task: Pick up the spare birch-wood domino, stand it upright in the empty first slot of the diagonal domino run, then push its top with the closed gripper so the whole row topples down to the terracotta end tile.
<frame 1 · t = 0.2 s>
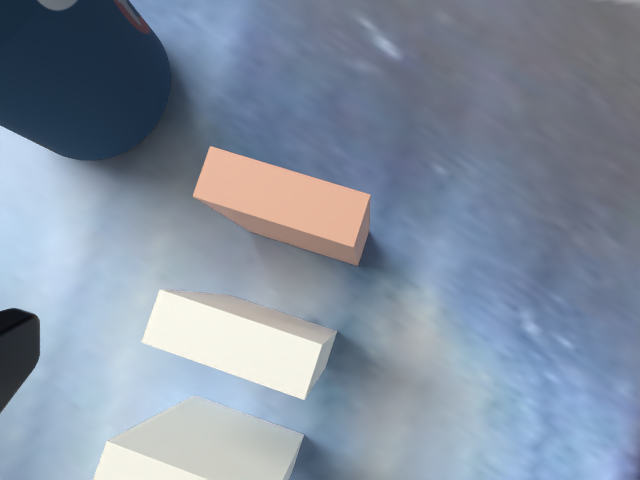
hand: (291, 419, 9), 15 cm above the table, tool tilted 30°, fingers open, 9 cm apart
domino 3: (242, 432, 23), on the table
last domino: (308, 231, 24), on the table
domino 4: (276, 330, 24), on the table
soda can: (110, 96, 26), on the table
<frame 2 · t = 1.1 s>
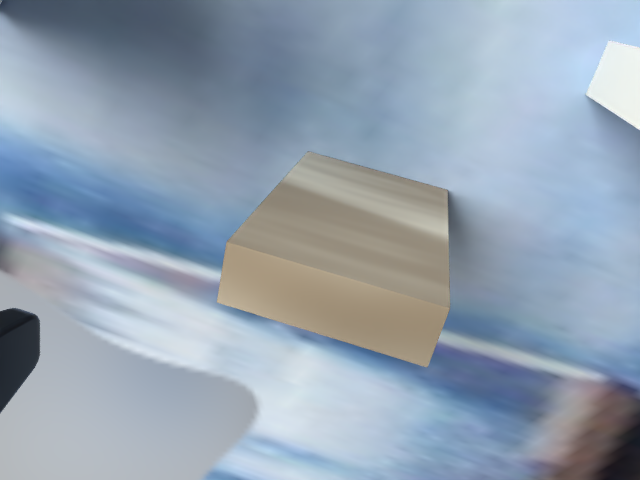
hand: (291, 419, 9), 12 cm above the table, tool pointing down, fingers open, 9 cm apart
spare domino: (370, 191, 19), on the table
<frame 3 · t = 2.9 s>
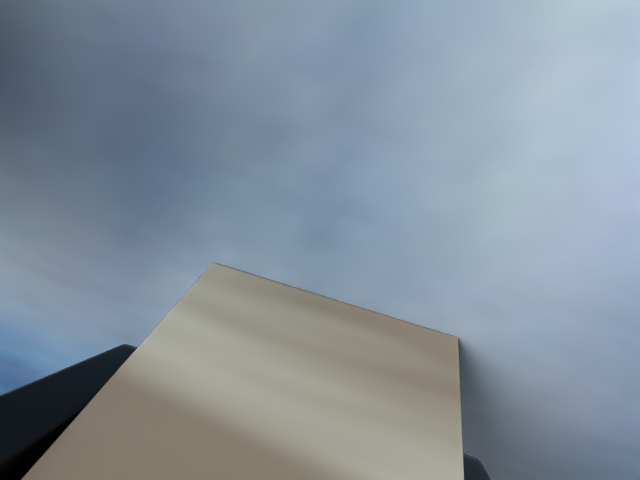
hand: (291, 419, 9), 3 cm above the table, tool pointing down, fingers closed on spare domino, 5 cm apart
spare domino: (323, 332, 11), on the table, touching gripper
when the fingers open (4 cm above the table, at t = 7.4 s): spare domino stays where it is, on the table.
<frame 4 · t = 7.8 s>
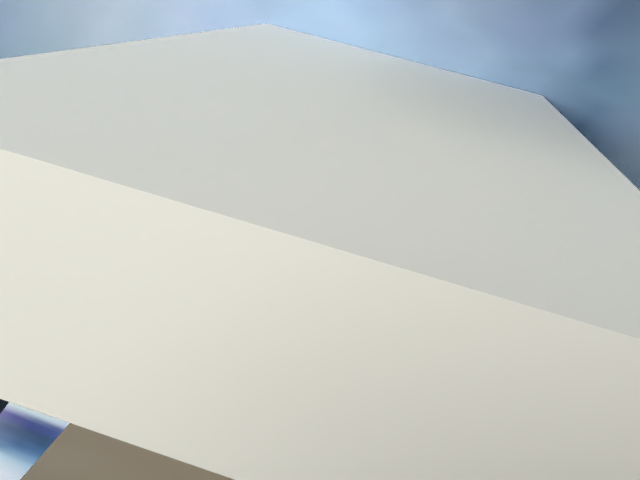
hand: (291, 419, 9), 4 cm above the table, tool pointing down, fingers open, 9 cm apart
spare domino: (332, 305, 12), on the table
domino 2: (388, 103, 10), on the table
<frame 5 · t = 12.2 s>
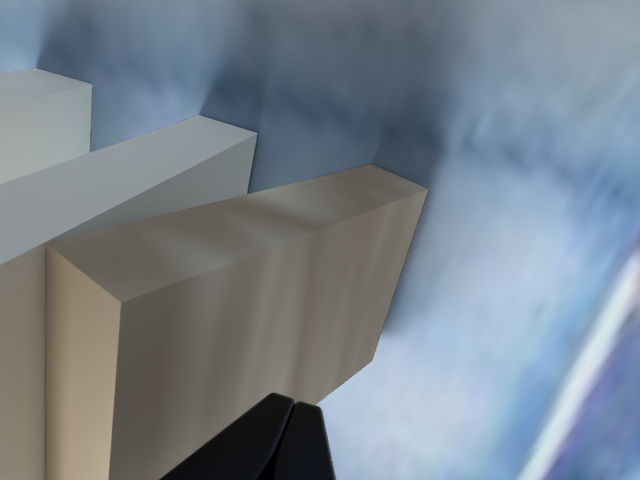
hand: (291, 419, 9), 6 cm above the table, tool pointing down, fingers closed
domino 3: (62, 167, 15), on the table
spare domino: (371, 267, 14), on the table, tilted 25°
domino 2: (214, 214, 15), on the table
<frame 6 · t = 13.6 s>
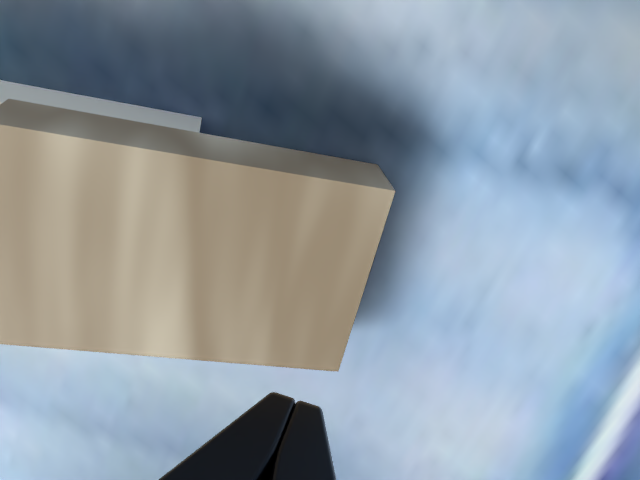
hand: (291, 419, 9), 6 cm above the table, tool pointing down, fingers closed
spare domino: (357, 270, 13), point 1 cm above the table, tilted 69°, touching domino 2
domino 2: (187, 221, 14), point 1 cm above the table, tilted 69°, touching domino 3, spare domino
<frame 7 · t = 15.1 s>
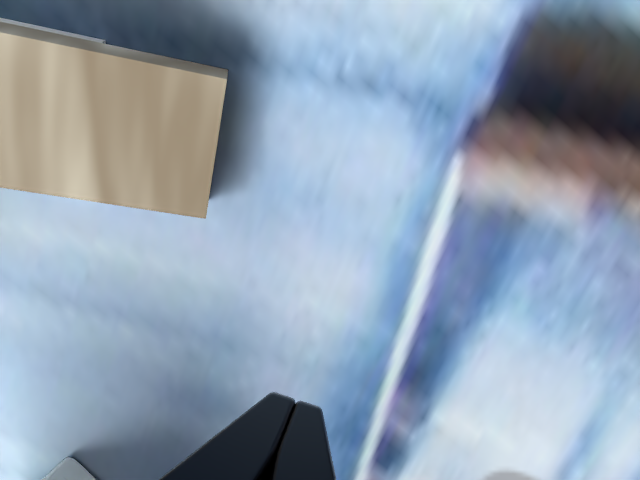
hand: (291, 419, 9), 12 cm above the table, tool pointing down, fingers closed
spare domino: (216, 145, 19), point 1 cm above the table, tilted 71°, touching domino 2
domino 2: (96, 114, 20), point 1 cm above the table, tilted 71°, touching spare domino
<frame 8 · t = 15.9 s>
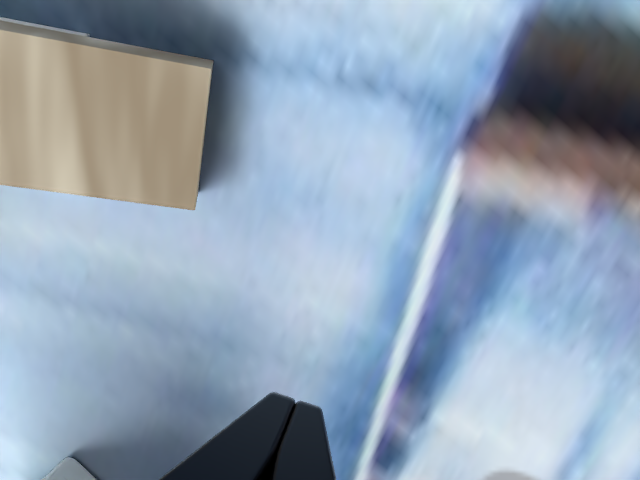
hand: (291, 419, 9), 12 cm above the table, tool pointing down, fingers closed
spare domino: (204, 136, 19), point 1 cm above the table, tilted 71°, touching domino 2
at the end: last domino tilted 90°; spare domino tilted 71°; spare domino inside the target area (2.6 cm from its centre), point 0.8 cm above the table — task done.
